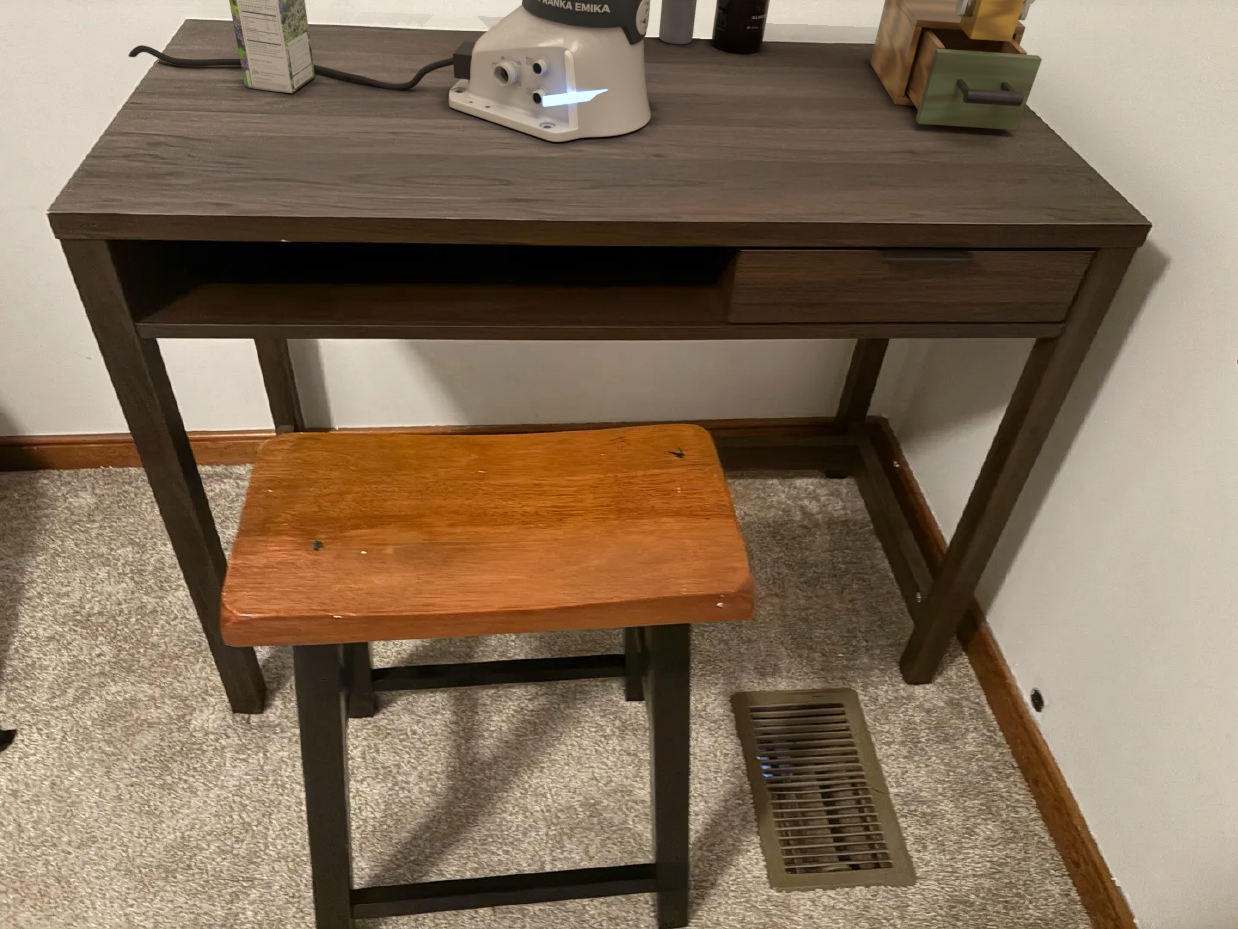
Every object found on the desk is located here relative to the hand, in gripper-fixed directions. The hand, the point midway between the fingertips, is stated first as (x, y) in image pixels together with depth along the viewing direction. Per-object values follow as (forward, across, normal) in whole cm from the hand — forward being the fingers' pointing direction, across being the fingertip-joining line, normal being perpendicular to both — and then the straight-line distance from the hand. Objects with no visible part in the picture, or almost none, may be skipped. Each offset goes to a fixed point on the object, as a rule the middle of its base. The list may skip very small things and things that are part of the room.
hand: (989, 16), depth 100 cm
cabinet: (+12, 0, -12) cm, 16 cm away
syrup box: (+12, +78, +1) cm, 78 cm away
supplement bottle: (+12, +24, -22) cm, 35 cm away
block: (+2, 0, 0) cm, 2 cm away
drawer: (+11, 0, -1) cm, 11 cm away
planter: (+12, +32, -23) cm, 41 cm away
